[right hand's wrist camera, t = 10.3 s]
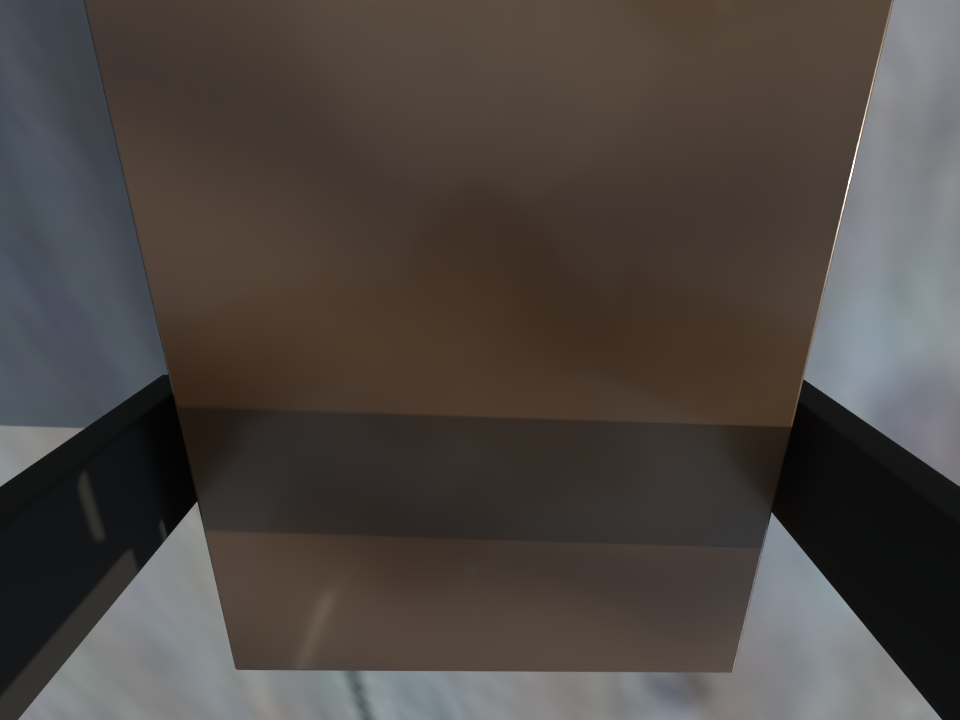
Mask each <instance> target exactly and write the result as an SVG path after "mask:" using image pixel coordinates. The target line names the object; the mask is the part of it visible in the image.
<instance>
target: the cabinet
mask: <svg viewBox="0 0 960 720" xmlns="http://www.w3.org/2000/svg"><path fill="white" fill-rule="evenodd" d="M893 1H894V0H84V5H85V9H86V13H87V18H88V22H89V27H90V31H91V35H92V40H93V44H94V49H95V53H96V57H97V62H98V66H99V71H100V75H101V79H102V84H103V88H104V93H105V97H106V101H107V106H108V110H109V115H110V119H111V123H112V128H113V132H114V137H115V141H116V145H117V150H118V154H119V159H120V163H121V167H122V172H123V176H124V180H125V185H126V189H127V194H128V198H129V202H130V207H131V211H132V216H133V220H134V224H135V229H136V233H137V238H138V242H139V246H140V251H141V255H142V260H143V264H144V268H145V273H146V277H147V282H148V286H149V290H150V295H151V299H152V304H153V308H154V312H155V317H156V321H157V326H158V330H159V334H160V339H161V343H162V348H163V352H164V356H165V361H166V365H167V370H168V374H169V378H170V383H171V387H172V392H173V396H174V400H175V405H176V409H177V414H178V418H179V422H180V427H181V431H182V436H183V440H184V444H185V449H186V453H187V457H188V462H189V466H190V471H191V475H192V479H193V484H194V488H195V493H196V497H197V501H198V506H199V510H200V515H201V519H202V523H203V528H204V532H205V537H206V541H207V545H208V550H209V554H210V559H211V563H212V567H213V572H214V576H215V581H216V585H217V589H218V594H219V598H220V603H221V607H222V611H223V616H224V620H225V625H226V629H227V633H228V638H229V642H230V647H231V651H232V655H233V660H234V664H235V668H236V669H237V670H360V671H540V672H719V673H731V672H733V671H734V667H735V663H736V659H737V655H738V651H739V646H740V642H741V638H742V634H743V630H744V626H745V621H746V617H747V613H748V609H749V605H750V600H751V596H752V592H753V588H754V584H755V579H756V575H757V571H758V567H759V563H760V558H761V554H762V550H763V546H764V542H765V538H766V533H767V529H768V525H769V521H770V517H771V512H772V508H773V504H774V500H775V496H776V491H777V487H778V483H779V479H780V475H781V470H782V466H783V462H784V458H785V454H786V450H787V445H788V441H789V437H790V433H791V429H792V424H793V420H794V416H795V412H796V408H797V403H798V399H799V395H800V391H801V387H802V382H803V378H804V374H805V370H806V366H807V362H808V357H809V353H810V349H811V345H812V341H813V336H814V332H815V328H816V324H817V320H818V315H819V311H820V307H821V303H822V299H823V294H824V290H825V286H826V282H827V278H828V274H829V269H830V265H831V261H832V257H833V253H834V248H835V244H836V240H837V236H838V232H839V227H840V223H841V219H842V215H843V211H844V206H845V202H846V198H847V194H848V190H849V186H850V181H851V177H852V173H853V169H854V165H855V160H856V156H857V152H858V148H859V144H860V139H861V135H862V131H863V127H864V123H865V118H866V114H867V110H868V106H869V102H870V98H871V93H872V89H873V85H874V81H875V77H876V72H877V68H878V64H879V60H880V56H881V51H882V47H883V43H884V39H885V35H886V31H887V26H888V22H889V18H890V14H891V10H892V5H893Z"/></svg>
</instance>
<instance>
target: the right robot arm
mask: <svg viewBox="0 0 960 720" xmlns="http://www.w3.org/2000/svg"><path fill="white" fill-rule="evenodd" d="M196 502H197V497H196V493H195V488H194V484H193V479H192V475H191V471H190V466H189V462H188V457H187V453H186V449H185V444H184V440H183V436H182V431H181V427H180V422H179V418H178V414H177V409H176V405H175V400H174V396H173V392H172V387H171V383H170V378H169V375H162V376H161V377H159V378H158V379H156V380H155V381H153V382H152V383H150V384H149V385H148V386H146V387H145V388H143V389H142V390H140V391H139V392H137V393H136V394H134V395H133V396H132V397H130V398H129V399H127V400H126V401H124V402H123V403H121V404H120V405H119V406H117V407H116V408H114V409H113V410H111V411H110V412H108V413H107V414H105V415H104V416H103V417H101V418H100V419H98V420H97V421H95V422H94V423H92V424H91V425H89V426H88V427H87V428H85V429H84V430H82V431H81V432H79V433H78V434H76V435H75V436H73V437H72V438H71V439H69V440H68V441H66V442H65V443H63V444H62V445H60V446H59V447H58V448H56V449H55V450H53V451H52V452H50V453H49V454H47V455H46V456H44V457H43V458H42V459H40V460H39V461H37V462H36V463H34V464H33V465H31V466H30V467H28V468H27V469H26V470H24V471H23V472H21V473H20V474H18V475H17V476H15V477H14V478H12V479H11V480H10V481H8V482H7V483H5V484H4V485H2V486H1V487H0V720H18V719H19V718H20V716H21V715H22V714H23V713H24V711H25V710H26V709H27V708H28V707H29V705H30V704H31V703H32V702H33V701H34V699H35V698H36V697H37V696H38V694H39V693H40V692H41V691H42V690H43V688H44V687H45V686H46V685H47V683H48V682H49V681H50V680H51V679H52V677H53V676H54V675H55V674H56V673H57V671H58V670H59V669H60V668H61V666H62V665H63V664H64V663H65V662H66V660H67V659H68V658H69V657H70V655H71V654H72V653H73V652H74V651H75V649H76V648H77V647H78V646H79V644H80V643H81V642H82V641H83V640H84V638H85V637H86V636H87V635H88V634H89V632H90V631H91V630H92V629H93V627H94V626H95V625H96V624H97V623H98V621H99V620H100V619H101V618H102V616H103V615H104V614H105V613H106V612H107V610H108V609H109V608H110V607H111V606H112V604H113V603H114V602H115V601H116V599H117V598H118V597H119V596H120V595H121V593H122V592H123V591H124V590H125V588H126V587H127V586H128V585H129V584H130V582H131V581H132V580H133V579H134V577H135V576H136V575H137V574H138V573H139V571H140V570H141V569H142V568H143V567H144V565H145V564H146V563H147V562H148V560H149V559H150V558H151V557H152V556H153V554H154V553H155V552H156V551H157V549H158V548H159V547H160V546H161V545H162V543H163V542H164V541H165V540H166V539H167V537H168V536H169V535H170V534H171V532H172V531H173V530H174V529H175V528H176V526H177V525H178V524H179V523H180V521H181V520H182V519H183V518H184V517H185V515H186V514H187V513H188V512H189V510H190V509H191V508H192V507H193V506H194V504H195V503H196ZM772 513H773V514H774V515H775V517H776V518H777V519H778V520H779V521H780V523H781V524H782V525H783V526H784V528H785V529H786V530H787V531H788V532H789V534H790V535H791V536H792V537H793V539H794V540H795V541H796V542H797V543H798V545H799V546H800V547H801V548H802V549H803V551H804V552H805V553H806V554H807V556H808V557H809V558H810V559H811V560H812V562H813V563H814V564H815V565H816V567H817V568H818V569H819V570H820V571H821V573H822V574H823V575H824V576H825V577H826V579H827V580H828V581H829V582H830V584H831V585H832V586H833V587H834V588H835V590H836V591H837V592H838V593H839V595H840V596H841V597H842V598H843V599H844V601H845V602H846V603H847V604H848V606H849V607H850V608H851V609H852V610H853V612H854V613H855V614H856V615H857V616H858V618H859V619H860V620H861V621H862V623H863V624H864V625H865V626H866V627H867V629H868V630H869V631H870V632H871V634H872V635H873V636H874V637H875V638H876V640H877V641H878V642H879V643H880V644H881V646H882V647H883V648H884V649H885V651H886V652H887V653H888V654H889V655H890V657H891V658H892V659H893V660H894V662H895V663H896V664H897V665H898V666H899V668H900V669H901V670H902V671H903V673H904V674H905V675H906V676H907V677H908V679H909V680H910V681H911V682H912V683H913V685H914V686H915V687H916V688H917V690H918V691H919V692H920V693H921V694H922V696H923V697H924V698H925V699H926V701H927V702H928V703H929V704H930V705H931V707H932V708H933V709H934V710H935V711H936V713H937V714H938V715H939V716H940V718H941V719H942V720H960V486H958V485H956V484H955V483H953V482H952V481H950V480H949V479H948V478H946V477H945V476H943V475H942V474H940V473H939V472H937V471H936V470H934V469H933V468H932V467H930V466H929V465H927V464H926V463H924V462H923V461H921V460H920V459H918V458H917V457H916V456H914V455H913V454H911V453H910V452H908V451H907V450H905V449H904V448H902V447H901V446H900V445H898V444H897V443H895V442H894V441H892V440H891V439H889V438H888V437H887V436H885V435H884V434H882V433H881V432H879V431H878V430H876V429H875V428H873V427H872V426H871V425H869V424H868V423H866V422H865V421H863V420H862V419H860V418H859V417H857V416H856V415H855V414H853V413H852V412H850V411H849V410H847V409H846V408H844V407H843V406H841V405H840V404H839V403H837V402H836V401H834V400H833V399H831V398H830V397H828V396H827V395H826V394H824V393H823V392H821V391H820V390H818V389H817V388H815V387H814V386H812V385H811V384H810V383H808V382H807V381H805V380H804V379H803V382H802V387H801V391H800V395H799V399H798V403H797V408H796V412H795V416H794V420H793V424H792V429H791V433H790V437H789V441H788V445H787V450H786V454H785V458H784V462H783V466H782V470H781V475H780V479H779V483H778V487H777V491H776V496H775V500H774V504H773V508H772Z"/></svg>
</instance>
